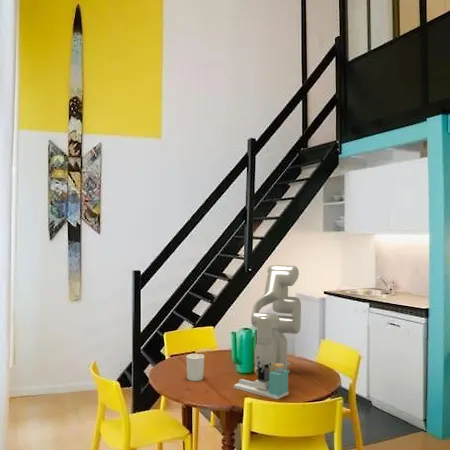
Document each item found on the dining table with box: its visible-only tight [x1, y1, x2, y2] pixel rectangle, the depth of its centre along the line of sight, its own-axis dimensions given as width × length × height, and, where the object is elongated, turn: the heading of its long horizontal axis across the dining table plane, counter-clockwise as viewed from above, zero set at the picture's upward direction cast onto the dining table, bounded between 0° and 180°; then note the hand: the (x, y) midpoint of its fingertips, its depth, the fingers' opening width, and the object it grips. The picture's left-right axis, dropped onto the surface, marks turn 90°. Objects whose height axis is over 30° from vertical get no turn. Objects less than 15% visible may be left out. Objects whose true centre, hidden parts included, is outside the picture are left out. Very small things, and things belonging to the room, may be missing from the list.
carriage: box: [254, 367, 270, 390], centre depth 247 cm, size 7×6×10 cm
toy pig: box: [253, 362, 276, 376], centre depth 264 cm, size 10×12×11 cm
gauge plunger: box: [274, 363, 284, 373], centre depth 242 cm, size 4×4×7 cm
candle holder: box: [185, 353, 205, 382], centre depth 267 cm, size 10×10×12 cm
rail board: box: [233, 370, 289, 400], centre depth 248 cm, size 10×26×12 cm, turn 52°
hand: (263, 378), depth 247 cm, fingers closed on carriage, 4 cm apart
